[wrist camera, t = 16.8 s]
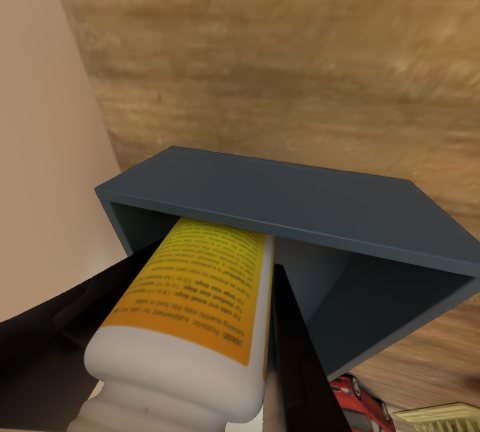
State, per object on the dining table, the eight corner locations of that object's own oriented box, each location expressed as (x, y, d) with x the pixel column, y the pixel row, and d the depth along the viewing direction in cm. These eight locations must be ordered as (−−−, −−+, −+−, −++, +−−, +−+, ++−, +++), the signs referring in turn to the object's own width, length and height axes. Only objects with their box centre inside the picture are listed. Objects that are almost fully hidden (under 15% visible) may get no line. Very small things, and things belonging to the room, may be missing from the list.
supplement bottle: (175, 195, 11) (-86, 477, 3) (259, 171, 9) (100, 752, 1) (214, 255, 14) (123, 484, 6) (285, 246, 12) (286, 573, 4)
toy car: (353, 402, 32) (361, 447, 28) (312, 366, 26) (315, 416, 23) (390, 407, 29) (405, 458, 25) (352, 368, 24) (363, 425, 20)
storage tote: (171, 145, 11) (92, 188, 7) (410, 180, 9) (515, 272, 5) (199, 312, 24) (179, 361, 20) (297, 340, 22) (298, 401, 18)
